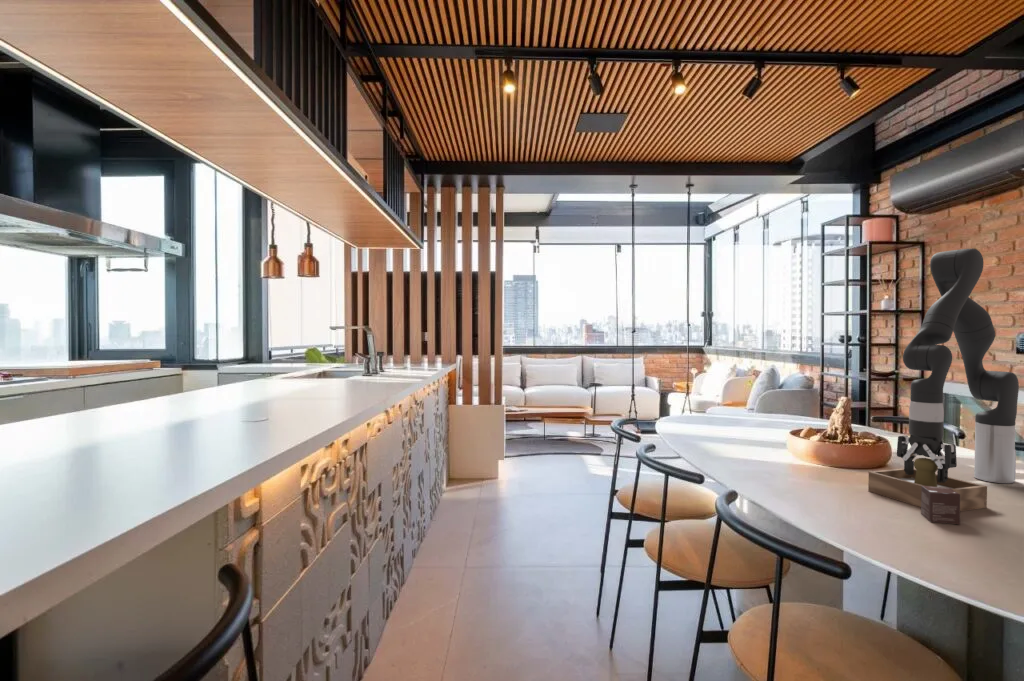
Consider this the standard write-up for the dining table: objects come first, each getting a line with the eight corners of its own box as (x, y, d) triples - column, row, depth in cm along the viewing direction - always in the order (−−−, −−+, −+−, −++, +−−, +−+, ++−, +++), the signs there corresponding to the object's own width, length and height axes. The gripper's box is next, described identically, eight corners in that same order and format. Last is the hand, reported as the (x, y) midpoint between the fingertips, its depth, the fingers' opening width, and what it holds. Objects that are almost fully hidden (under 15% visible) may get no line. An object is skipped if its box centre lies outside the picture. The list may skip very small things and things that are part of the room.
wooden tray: (910, 486, 161) (910, 467, 161) (986, 507, 142) (987, 486, 142) (868, 491, 156) (868, 471, 156) (941, 513, 137) (942, 491, 137)
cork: (944, 503, 145) (945, 461, 145) (918, 501, 147) (919, 460, 147) (932, 496, 151) (932, 456, 151) (907, 495, 153) (907, 455, 152)
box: (949, 517, 135) (950, 487, 135) (960, 525, 129) (961, 494, 129) (920, 514, 137) (920, 485, 137) (929, 522, 131) (930, 491, 131)
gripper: (964, 422, 143) (963, 484, 143) (910, 414, 157) (909, 470, 157) (943, 423, 141) (942, 486, 141) (890, 415, 155) (889, 472, 155)
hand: (925, 478), depth 149 cm, fingers open, 8 cm apart
